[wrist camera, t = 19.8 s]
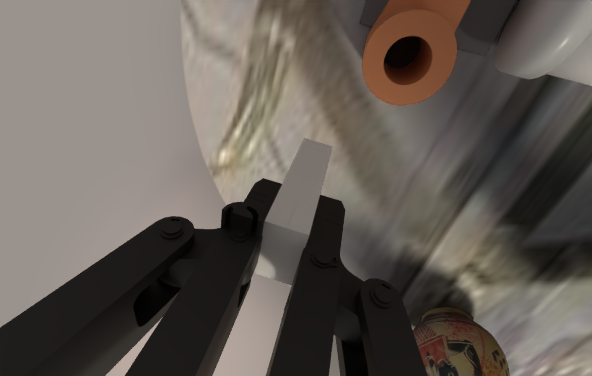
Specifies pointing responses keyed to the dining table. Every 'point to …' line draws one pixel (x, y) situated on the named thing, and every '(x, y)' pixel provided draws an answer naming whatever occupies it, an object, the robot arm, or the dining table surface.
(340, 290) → the robot arm
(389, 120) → the dining table surface
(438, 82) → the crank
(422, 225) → the dining table surface
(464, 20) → the gasket mat
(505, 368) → the ceramic jug
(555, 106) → the dining table surface
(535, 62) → the pipe stub
